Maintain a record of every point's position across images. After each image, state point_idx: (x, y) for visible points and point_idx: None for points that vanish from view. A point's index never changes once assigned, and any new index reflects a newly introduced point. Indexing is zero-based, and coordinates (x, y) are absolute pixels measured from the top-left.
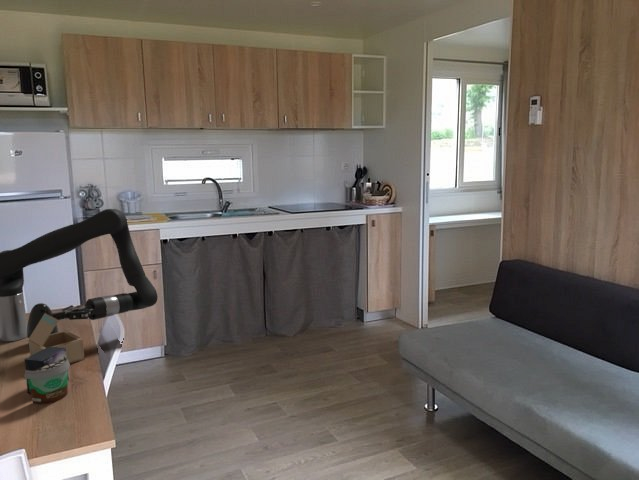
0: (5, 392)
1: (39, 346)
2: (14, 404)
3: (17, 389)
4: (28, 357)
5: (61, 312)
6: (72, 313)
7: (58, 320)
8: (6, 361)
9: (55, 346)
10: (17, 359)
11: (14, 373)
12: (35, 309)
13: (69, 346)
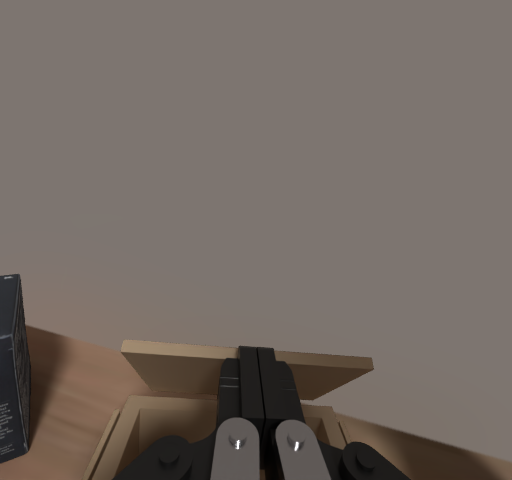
0: (104, 347)
1: (193, 399)
2: None
3: (87, 364)
4: (11, 278)
5: (257, 400)
6: (128, 472)
7: (121, 350)
8: (347, 418)
9: (109, 443)
10: None
11: (214, 397)
12: None
13: None
